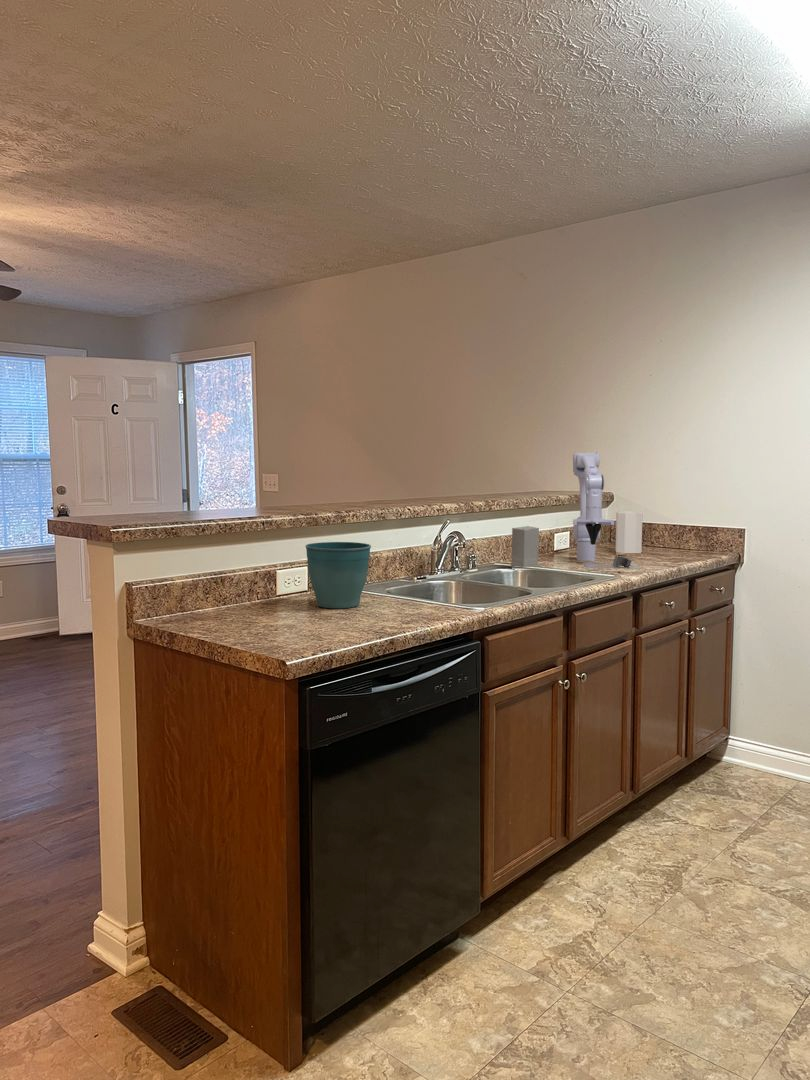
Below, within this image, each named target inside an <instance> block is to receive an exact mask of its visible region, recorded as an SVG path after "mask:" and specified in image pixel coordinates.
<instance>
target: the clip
mask: <svg viewBox="0 0 810 1080" xmlns="http://www.w3.org/2000/svg"><path fill="white" fill-rule="evenodd" d="M612 563H613V566H615V567H623V566H624V567H629V566H630V564H632V560H631V559H630V558H627V557H625V556H618V555H616V554H615V556H614V559H613V562H612Z"/></svg>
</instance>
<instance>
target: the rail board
mask: <svg viewBox="0 0 810 1080" xmlns="http://www.w3.org/2000/svg"><path fill="white" fill-rule="evenodd" d="M581 564H582V565H583V566H584V568H586V569H623V570H624V569H627V570H628V569H643V570H644V568H643V567H641V566H640V565H639V564H637V563H631V564H630V566H632V567H623V566H618V567H615V566H613V562H612V563H608V562H607V563H606V562H605V563H603V562H602V563H601V562H599V563H598V562H596V563H594V562H593V563H592V562H582V563H581Z"/></svg>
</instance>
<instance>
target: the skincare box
mask: <svg viewBox="0 0 810 1080" xmlns="http://www.w3.org/2000/svg"><path fill="white" fill-rule="evenodd" d="M539 531H540V528H539V527H537V526H535V527H534V526H529V525H525V526H520V527H512V529H511V560H510V561H511V563H510V564H511V567H516V568H517V567H519V568H528V567H537V566H539V564H538V563H539V539H540V538H539V535H540V532H539Z"/></svg>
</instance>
